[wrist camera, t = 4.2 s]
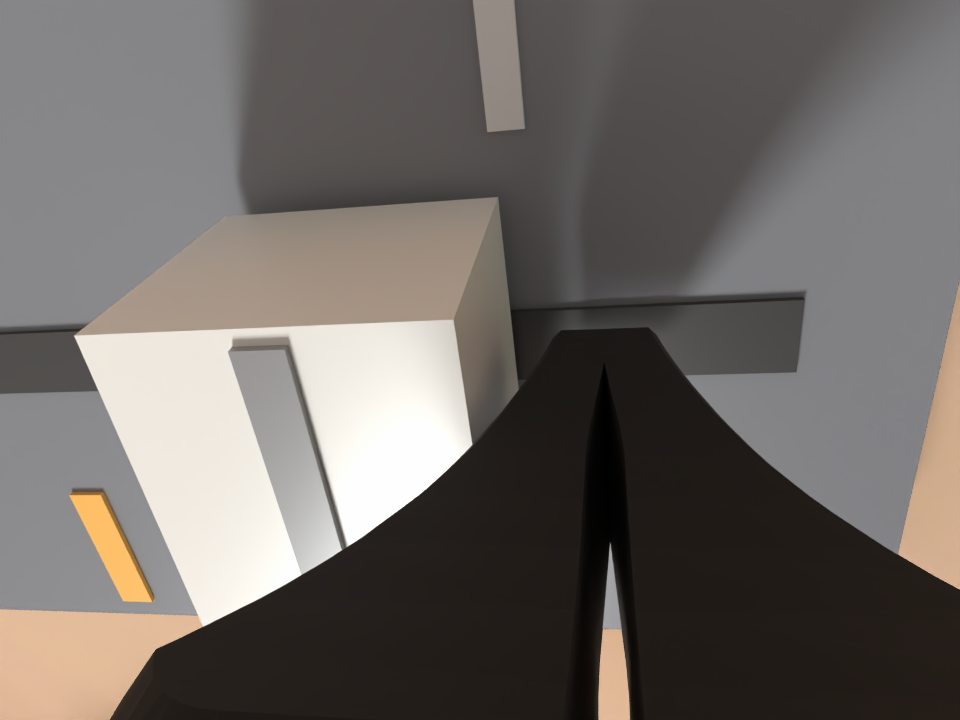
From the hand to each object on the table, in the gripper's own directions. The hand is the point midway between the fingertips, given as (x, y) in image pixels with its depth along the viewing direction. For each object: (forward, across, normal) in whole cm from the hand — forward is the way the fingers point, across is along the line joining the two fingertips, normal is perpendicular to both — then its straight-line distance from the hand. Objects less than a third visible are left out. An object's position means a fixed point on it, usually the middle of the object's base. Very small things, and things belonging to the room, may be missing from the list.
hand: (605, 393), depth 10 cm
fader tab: (+1, +3, 0) cm, 3 cm away
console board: (+3, +5, 0) cm, 6 cm away
